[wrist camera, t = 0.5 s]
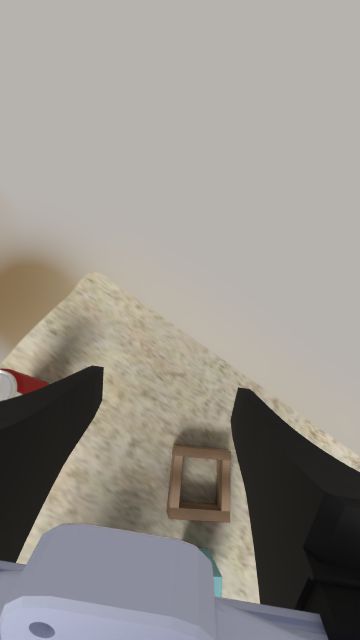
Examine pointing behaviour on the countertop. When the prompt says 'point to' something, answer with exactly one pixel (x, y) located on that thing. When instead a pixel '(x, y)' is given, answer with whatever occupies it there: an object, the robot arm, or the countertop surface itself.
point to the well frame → (222, 506)
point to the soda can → (17, 384)
